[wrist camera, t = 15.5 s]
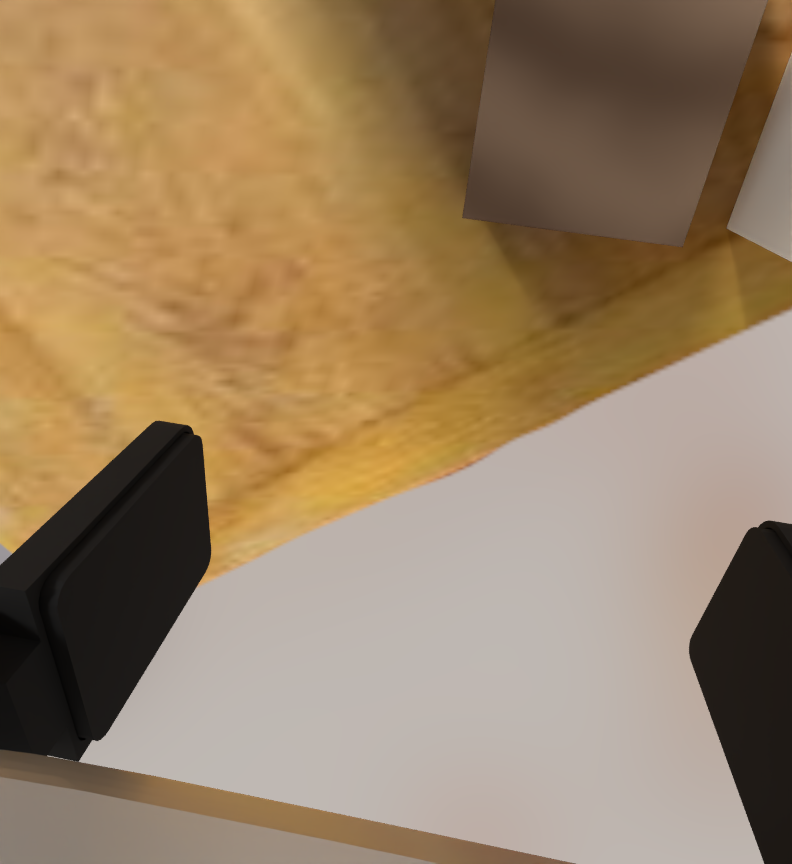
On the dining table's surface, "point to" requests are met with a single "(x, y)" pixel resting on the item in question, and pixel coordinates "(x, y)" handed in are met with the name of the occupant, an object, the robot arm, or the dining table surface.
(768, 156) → the door
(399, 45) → the dining table surface
